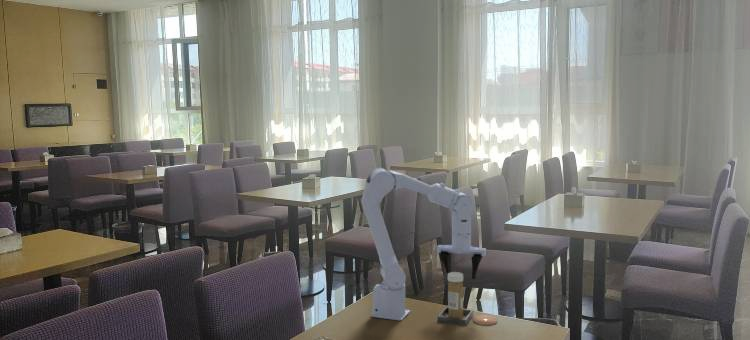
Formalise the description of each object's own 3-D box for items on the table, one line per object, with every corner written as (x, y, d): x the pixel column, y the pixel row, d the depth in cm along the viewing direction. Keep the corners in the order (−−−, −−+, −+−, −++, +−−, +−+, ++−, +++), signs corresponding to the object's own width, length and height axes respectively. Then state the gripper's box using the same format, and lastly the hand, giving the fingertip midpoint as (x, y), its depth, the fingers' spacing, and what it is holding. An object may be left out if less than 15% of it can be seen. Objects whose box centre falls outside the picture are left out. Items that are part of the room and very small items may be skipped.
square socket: (437, 321, 167) (437, 316, 166) (445, 311, 174) (445, 306, 174) (466, 325, 163) (466, 320, 163) (473, 314, 171) (473, 310, 171)
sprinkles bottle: (466, 318, 168) (466, 274, 167) (454, 322, 166) (454, 276, 164) (456, 314, 172) (456, 270, 170) (444, 317, 170) (444, 273, 168)
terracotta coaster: (470, 323, 165) (470, 321, 165) (475, 314, 171) (475, 313, 171) (494, 326, 162) (494, 324, 162) (499, 318, 168) (499, 316, 168)
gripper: (434, 234, 171) (434, 278, 173) (482, 237, 166) (482, 283, 168) (440, 229, 178) (440, 272, 179) (487, 232, 172) (487, 276, 174)
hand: (461, 277), depth 174 cm, fingers open, 7 cm apart
